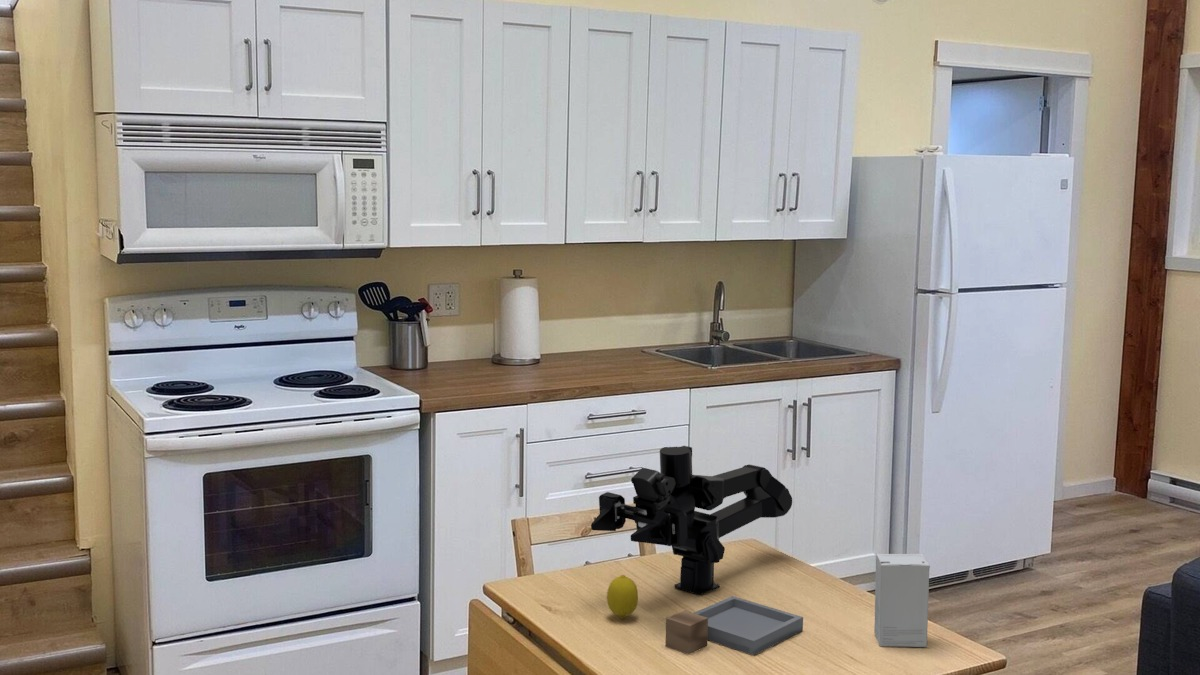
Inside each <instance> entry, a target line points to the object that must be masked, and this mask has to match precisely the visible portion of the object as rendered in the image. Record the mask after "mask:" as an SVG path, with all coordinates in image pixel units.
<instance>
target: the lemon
mask: <svg viewBox="0 0 1200 675" xmlns="http://www.w3.org/2000/svg"><path fill="white" fill-rule="evenodd" d="M638 593H639V592H638V588H637V585H636V583H635V581H634V580H632V578H630V577H628V576H626V575H625V574H621V575H620V576H617V577H615V578H614V579H612V580H611V582H610V583H609V586H608V588H607V593H606V602H607V606H608V609H609V610H610V611H611V612H612V613H613V614H614V615H616V616H618V617H619V618H620V619H625V618H626V617H627V616H629V615H631V614H632V613H633V612H635V610H636V608H637V606H638V603H639V594H638Z"/></svg>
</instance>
